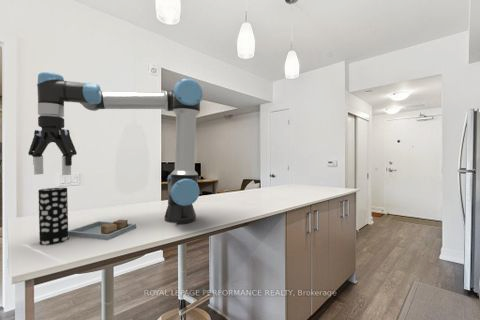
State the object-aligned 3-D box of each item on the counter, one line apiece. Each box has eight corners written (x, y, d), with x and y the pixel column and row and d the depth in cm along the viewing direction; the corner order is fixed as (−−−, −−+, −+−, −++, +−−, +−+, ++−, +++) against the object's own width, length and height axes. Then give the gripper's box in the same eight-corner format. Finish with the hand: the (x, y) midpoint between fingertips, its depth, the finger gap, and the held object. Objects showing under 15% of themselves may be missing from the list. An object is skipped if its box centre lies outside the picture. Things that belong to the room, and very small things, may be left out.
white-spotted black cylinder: (38, 243, 87) (37, 189, 87) (66, 237, 93) (65, 187, 93) (40, 249, 81) (39, 191, 81) (70, 242, 87) (69, 189, 87)
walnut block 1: (117, 234, 94) (116, 224, 94) (107, 237, 90) (106, 227, 90) (111, 232, 96) (110, 223, 96) (101, 235, 92) (100, 225, 92)
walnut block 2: (127, 229, 100) (127, 219, 100) (122, 232, 96) (122, 222, 96) (118, 228, 101) (118, 219, 101) (113, 231, 97) (112, 222, 97)
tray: (136, 229, 102) (135, 224, 102) (108, 242, 87) (108, 235, 87) (98, 226, 107) (98, 221, 107) (66, 237, 93) (66, 231, 93)
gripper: (87, 116, 87) (88, 174, 87) (37, 119, 93) (38, 173, 94) (67, 113, 79) (68, 176, 80) (15, 116, 86) (16, 174, 86)
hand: (52, 174), depth 87 cm, fingers open, 13 cm apart
